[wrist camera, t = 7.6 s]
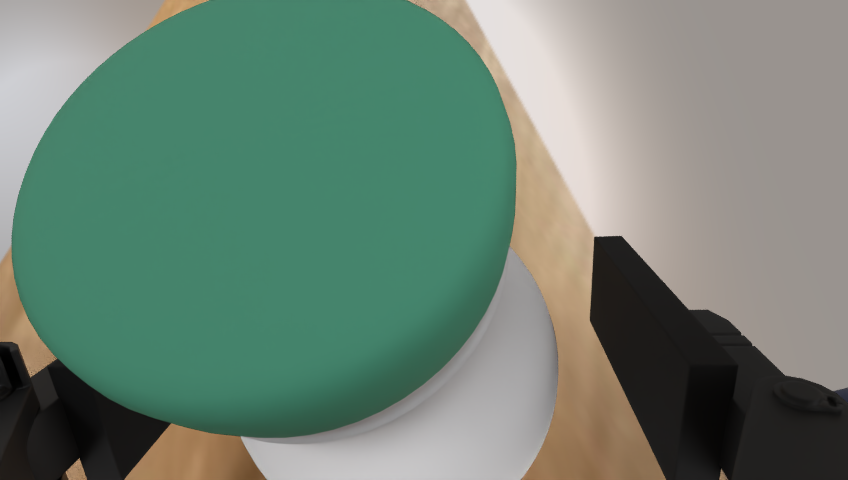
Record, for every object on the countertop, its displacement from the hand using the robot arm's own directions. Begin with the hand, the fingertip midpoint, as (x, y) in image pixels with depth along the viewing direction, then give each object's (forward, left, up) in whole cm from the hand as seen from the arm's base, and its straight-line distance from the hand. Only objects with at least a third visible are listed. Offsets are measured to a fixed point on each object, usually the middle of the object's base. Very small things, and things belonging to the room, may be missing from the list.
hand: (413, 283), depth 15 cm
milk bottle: (-1, +3, -9) cm, 10 cm away
